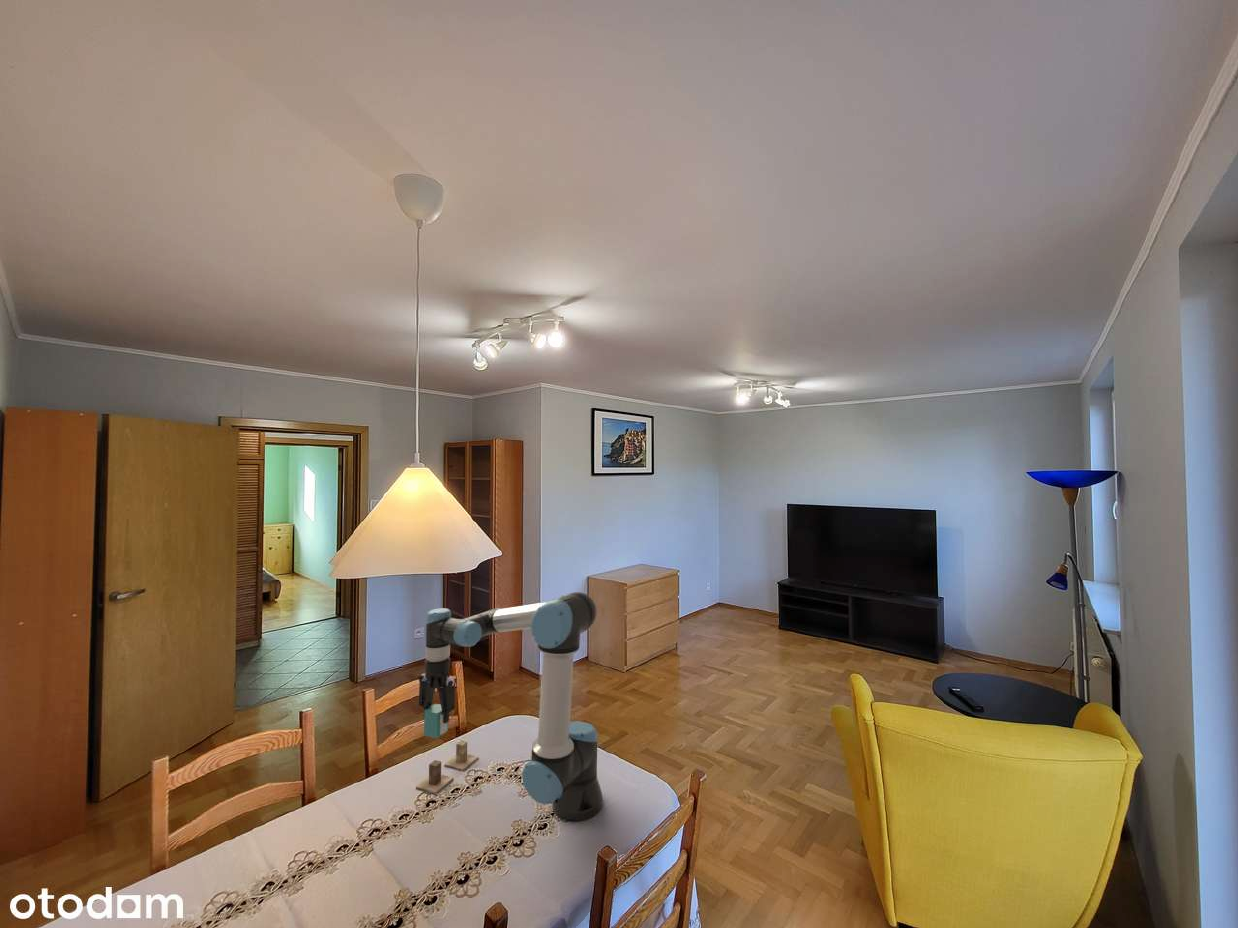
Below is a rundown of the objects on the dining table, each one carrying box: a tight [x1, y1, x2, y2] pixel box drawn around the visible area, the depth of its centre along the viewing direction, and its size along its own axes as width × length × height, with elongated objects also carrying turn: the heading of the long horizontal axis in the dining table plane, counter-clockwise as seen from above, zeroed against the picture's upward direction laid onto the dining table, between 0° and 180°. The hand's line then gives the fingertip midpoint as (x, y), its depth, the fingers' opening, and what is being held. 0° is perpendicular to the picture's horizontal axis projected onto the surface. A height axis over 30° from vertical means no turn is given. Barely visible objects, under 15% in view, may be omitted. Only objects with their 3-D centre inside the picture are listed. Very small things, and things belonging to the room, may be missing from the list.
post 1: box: [415, 759, 454, 795], centre depth 154 cm, size 8×8×7 cm
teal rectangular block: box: [423, 703, 449, 739], centre depth 155 cm, size 5×5×8 cm
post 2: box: [443, 739, 479, 772], centre depth 166 cm, size 8×8×7 cm
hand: (436, 730), depth 155 cm, fingers closed on teal rectangular block, 5 cm apart
